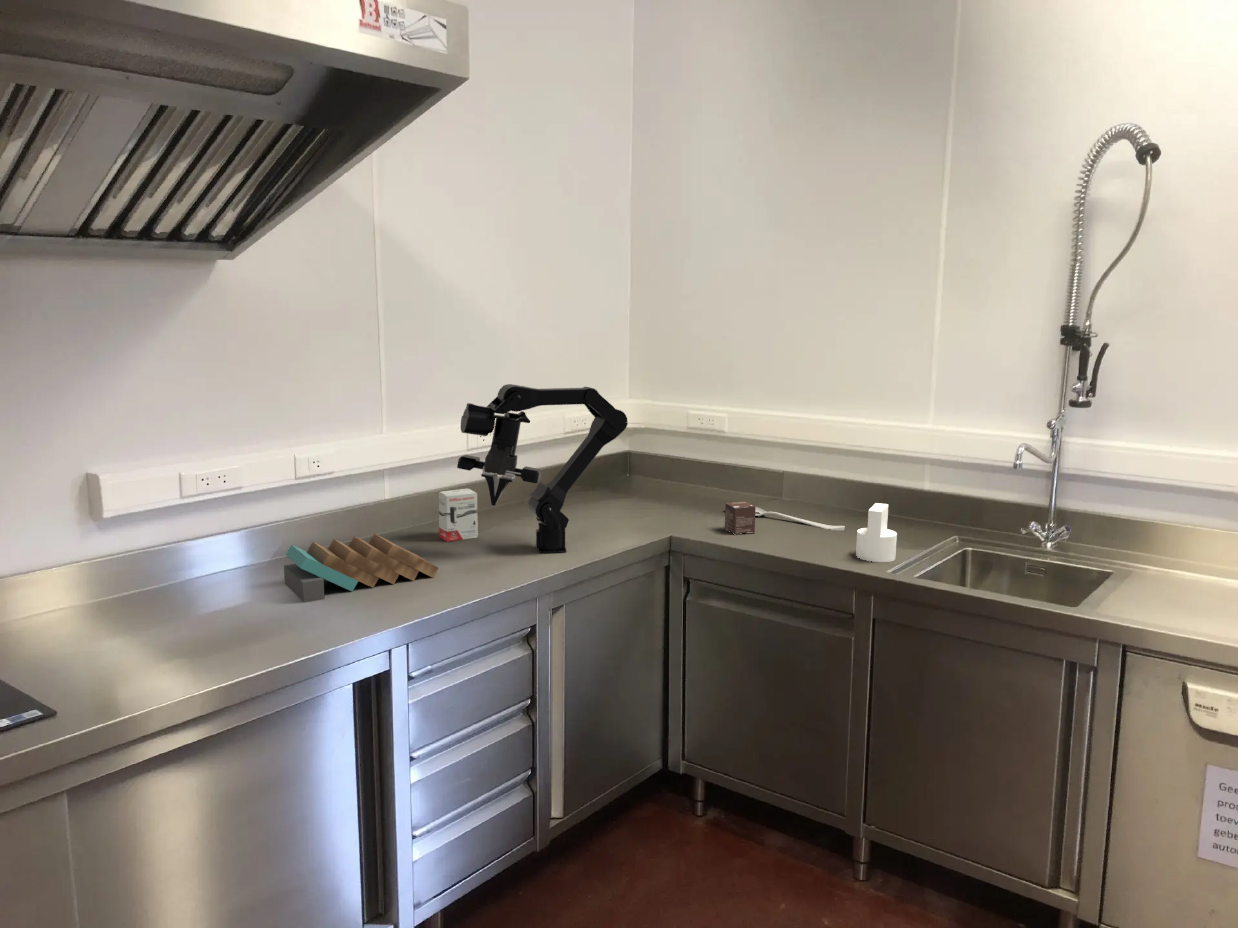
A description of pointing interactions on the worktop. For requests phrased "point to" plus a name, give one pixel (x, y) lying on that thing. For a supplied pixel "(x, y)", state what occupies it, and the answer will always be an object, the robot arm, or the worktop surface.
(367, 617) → the worktop surface
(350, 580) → the domino
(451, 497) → the ink box
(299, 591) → the block
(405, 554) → the domino
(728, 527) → the box
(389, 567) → the domino
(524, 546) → the worktop surface
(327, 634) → the worktop surface
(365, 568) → the domino
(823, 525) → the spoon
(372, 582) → the domino
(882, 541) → the cylinder with rectangular tab
